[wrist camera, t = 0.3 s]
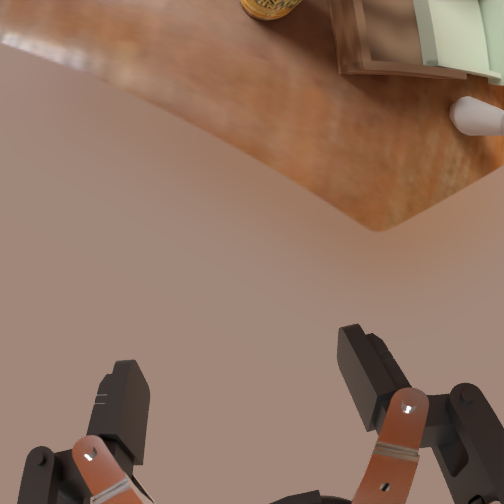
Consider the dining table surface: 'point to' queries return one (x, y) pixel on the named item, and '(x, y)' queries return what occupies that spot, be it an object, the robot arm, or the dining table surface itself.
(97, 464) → the robot arm
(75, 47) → the dining table surface
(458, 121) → the salt shaker
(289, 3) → the sauce bottle
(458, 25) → the drawer
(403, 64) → the cabinet
